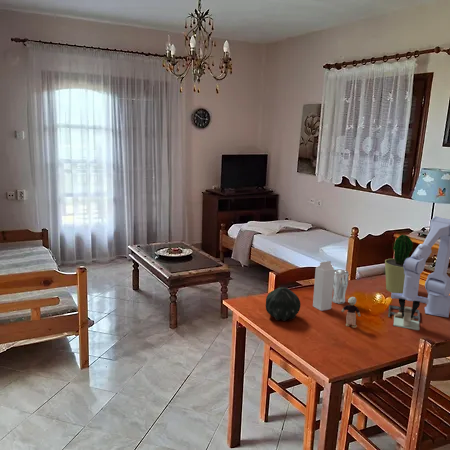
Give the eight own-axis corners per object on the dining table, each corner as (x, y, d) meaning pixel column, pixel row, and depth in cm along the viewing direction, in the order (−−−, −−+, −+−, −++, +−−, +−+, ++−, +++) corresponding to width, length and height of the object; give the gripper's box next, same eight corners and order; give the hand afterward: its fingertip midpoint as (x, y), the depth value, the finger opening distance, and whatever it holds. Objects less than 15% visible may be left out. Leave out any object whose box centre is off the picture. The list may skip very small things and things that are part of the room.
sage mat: (418, 322, 188) (418, 321, 188) (419, 330, 181) (419, 329, 180) (393, 318, 191) (394, 317, 191) (393, 325, 184) (393, 324, 184)
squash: (287, 295, 200) (273, 275, 192) (311, 307, 188) (297, 287, 180) (268, 319, 196) (252, 300, 188) (291, 333, 185) (276, 314, 176)
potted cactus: (388, 295, 218) (395, 237, 212) (377, 284, 233) (383, 229, 227) (419, 296, 218) (426, 238, 212) (406, 285, 233) (413, 230, 227)
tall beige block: (409, 320, 189) (411, 307, 187) (409, 326, 182) (411, 313, 181) (403, 319, 189) (404, 306, 188) (403, 325, 183) (404, 312, 182)
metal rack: (418, 312, 199) (419, 309, 199) (419, 322, 188) (420, 319, 188) (389, 307, 203) (389, 304, 203) (388, 317, 193) (388, 314, 192)
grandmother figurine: (359, 325, 184) (362, 296, 181) (359, 328, 180) (362, 300, 178) (340, 322, 186) (343, 294, 183) (339, 325, 183) (342, 297, 180)
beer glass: (346, 304, 205) (349, 274, 202) (331, 303, 206) (333, 273, 203) (345, 299, 211) (348, 269, 208) (330, 297, 213) (333, 268, 210)
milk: (312, 306, 202) (315, 260, 198) (323, 304, 205) (326, 259, 200) (321, 311, 197) (324, 264, 192) (331, 309, 200) (335, 262, 195)
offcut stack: (413, 319, 192) (414, 314, 191) (413, 322, 189) (414, 317, 189) (394, 316, 195) (394, 311, 194) (393, 318, 192) (394, 313, 192)
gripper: (392, 286, 181) (388, 317, 184) (430, 292, 176) (426, 323, 179) (392, 281, 188) (389, 310, 191) (429, 286, 182) (425, 316, 185)
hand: (407, 316), depth 185 cm, fingers open, 3 cm apart
